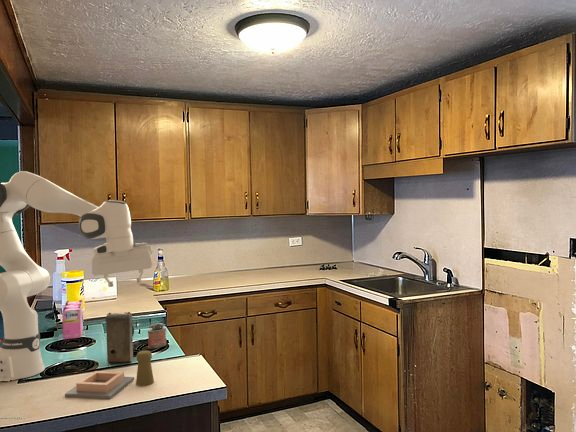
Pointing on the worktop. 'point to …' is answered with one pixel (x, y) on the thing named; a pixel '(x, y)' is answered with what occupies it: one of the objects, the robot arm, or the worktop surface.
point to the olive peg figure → (144, 369)
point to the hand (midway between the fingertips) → (125, 284)
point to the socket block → (100, 385)
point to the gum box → (72, 319)
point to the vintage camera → (120, 337)
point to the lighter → (157, 336)
